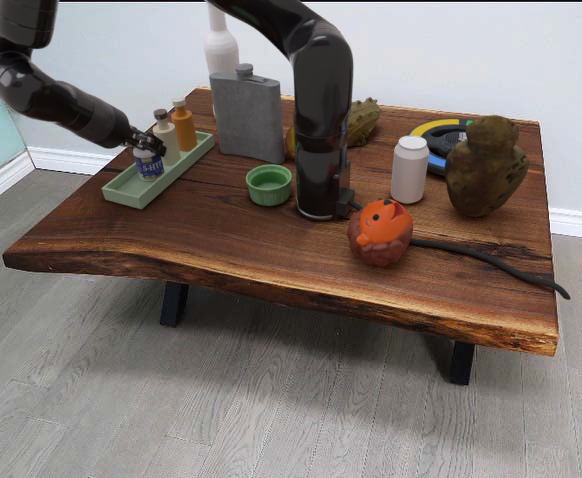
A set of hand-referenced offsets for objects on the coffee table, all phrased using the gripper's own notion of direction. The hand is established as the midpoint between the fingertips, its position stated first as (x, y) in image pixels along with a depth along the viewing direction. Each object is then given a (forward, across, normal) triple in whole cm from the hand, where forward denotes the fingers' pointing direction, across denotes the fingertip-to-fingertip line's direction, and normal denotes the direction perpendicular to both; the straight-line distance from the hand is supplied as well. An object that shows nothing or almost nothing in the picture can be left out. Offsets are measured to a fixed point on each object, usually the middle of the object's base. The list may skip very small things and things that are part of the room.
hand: (152, 149), depth 104 cm
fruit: (+17, -27, -8) cm, 33 cm away
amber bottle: (+12, 0, -4) cm, 13 cm away
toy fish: (-1, -51, +9) cm, 52 cm away
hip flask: (+15, -15, -6) cm, 22 cm away
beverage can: (+12, -51, -3) cm, 53 cm away
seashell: (+26, -33, -18) cm, 46 cm away
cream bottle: (+7, 0, 0) cm, 7 cm away
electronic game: (+25, -57, -17) cm, 65 cm away
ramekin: (+6, -26, +3) cm, 27 cm away
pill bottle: (+3, 0, +5) cm, 6 cm away
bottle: (+25, -1, -16) cm, 30 cm away
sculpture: (+11, -64, -3) cm, 65 cm away
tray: (+6, 0, +3) cm, 6 cm away
